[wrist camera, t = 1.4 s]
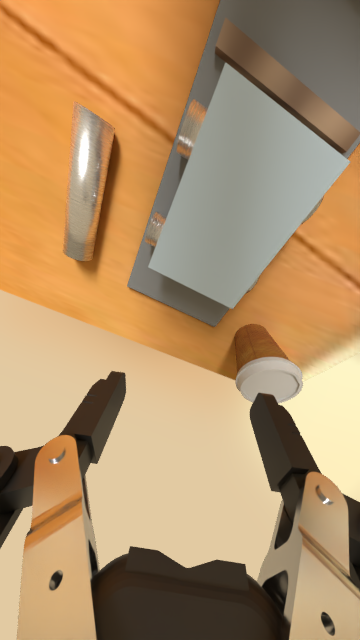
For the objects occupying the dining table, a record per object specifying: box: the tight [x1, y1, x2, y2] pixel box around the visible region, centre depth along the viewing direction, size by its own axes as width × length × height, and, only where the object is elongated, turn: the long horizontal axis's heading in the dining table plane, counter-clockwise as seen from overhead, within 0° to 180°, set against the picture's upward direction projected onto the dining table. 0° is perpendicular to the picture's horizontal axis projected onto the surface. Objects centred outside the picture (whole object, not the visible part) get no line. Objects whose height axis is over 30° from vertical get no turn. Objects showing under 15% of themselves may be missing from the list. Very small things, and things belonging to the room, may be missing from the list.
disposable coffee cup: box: [235, 324, 303, 403], centre depth 31 cm, size 10×10×12 cm
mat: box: [127, 0, 360, 327], centre depth 22 cm, size 18×38×1 cm, turn 154°
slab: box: [148, 63, 350, 309], centre depth 19 cm, size 12×16×3 cm
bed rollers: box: [145, 99, 324, 293], centre depth 22 cm, size 16×14×4 cm
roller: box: [63, 102, 115, 261], centre depth 23 cm, size 16×4×4 cm
